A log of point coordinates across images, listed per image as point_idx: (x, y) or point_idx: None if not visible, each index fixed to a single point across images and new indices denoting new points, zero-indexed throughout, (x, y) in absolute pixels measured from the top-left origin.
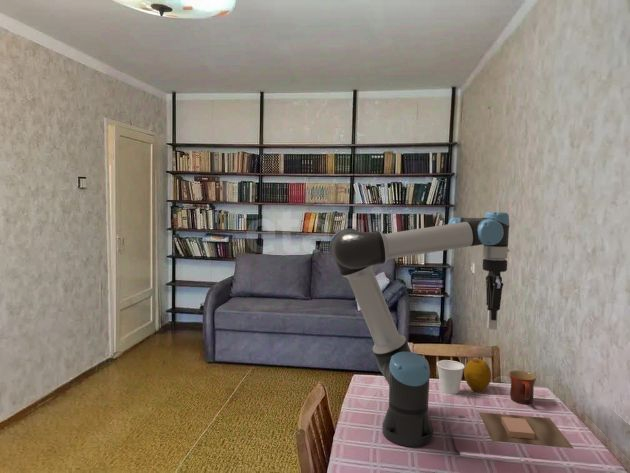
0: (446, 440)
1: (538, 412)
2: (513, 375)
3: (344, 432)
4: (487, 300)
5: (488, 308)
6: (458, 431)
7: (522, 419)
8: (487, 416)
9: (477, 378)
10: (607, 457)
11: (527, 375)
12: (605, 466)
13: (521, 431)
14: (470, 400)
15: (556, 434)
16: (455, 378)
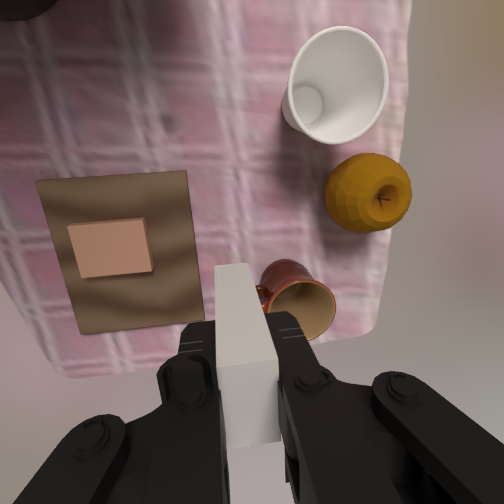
0: (8, 61)
1: None
2: (319, 288)
3: None
4: (427, 449)
5: (177, 379)
6: (75, 103)
7: (146, 265)
8: (167, 189)
9: (329, 188)
10: (90, 375)
11: (319, 322)
12: (54, 365)
13: (78, 252)
14: (272, 161)
15: (129, 317)
16: (288, 110)
